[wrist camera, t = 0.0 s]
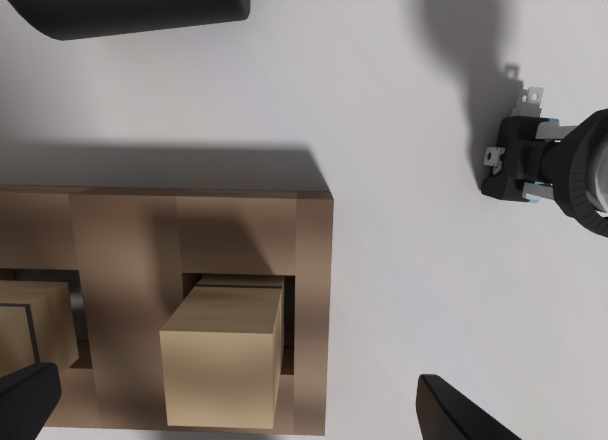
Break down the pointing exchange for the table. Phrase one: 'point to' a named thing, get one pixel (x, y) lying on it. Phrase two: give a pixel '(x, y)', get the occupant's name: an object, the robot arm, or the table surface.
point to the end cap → (124, 15)
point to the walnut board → (184, 303)
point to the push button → (552, 162)
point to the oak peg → (36, 325)
